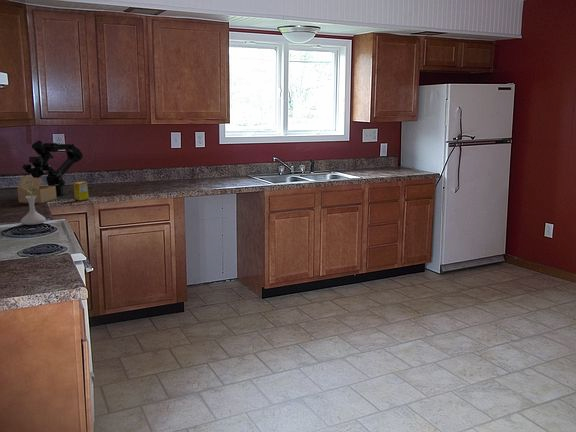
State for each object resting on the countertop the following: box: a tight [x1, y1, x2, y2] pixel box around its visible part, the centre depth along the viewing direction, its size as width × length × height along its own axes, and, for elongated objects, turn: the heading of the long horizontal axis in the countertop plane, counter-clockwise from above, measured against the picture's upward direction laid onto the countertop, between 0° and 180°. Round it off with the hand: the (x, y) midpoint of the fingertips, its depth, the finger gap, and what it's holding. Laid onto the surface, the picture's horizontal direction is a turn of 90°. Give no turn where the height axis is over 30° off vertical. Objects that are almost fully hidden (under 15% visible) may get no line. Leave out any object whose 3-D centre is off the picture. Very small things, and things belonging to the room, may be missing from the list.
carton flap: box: [17, 176, 42, 189], centre depth 331 cm, size 7×14×1 cm
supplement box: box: [73, 181, 90, 202], centre depth 338 cm, size 6×6×11 cm
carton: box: [16, 184, 58, 205], centre depth 338 cm, size 15×16×8 cm
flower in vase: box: [20, 174, 46, 226], centre depth 276 cm, size 13×11×25 cm
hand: (32, 180), depth 333 cm, fingers closed
